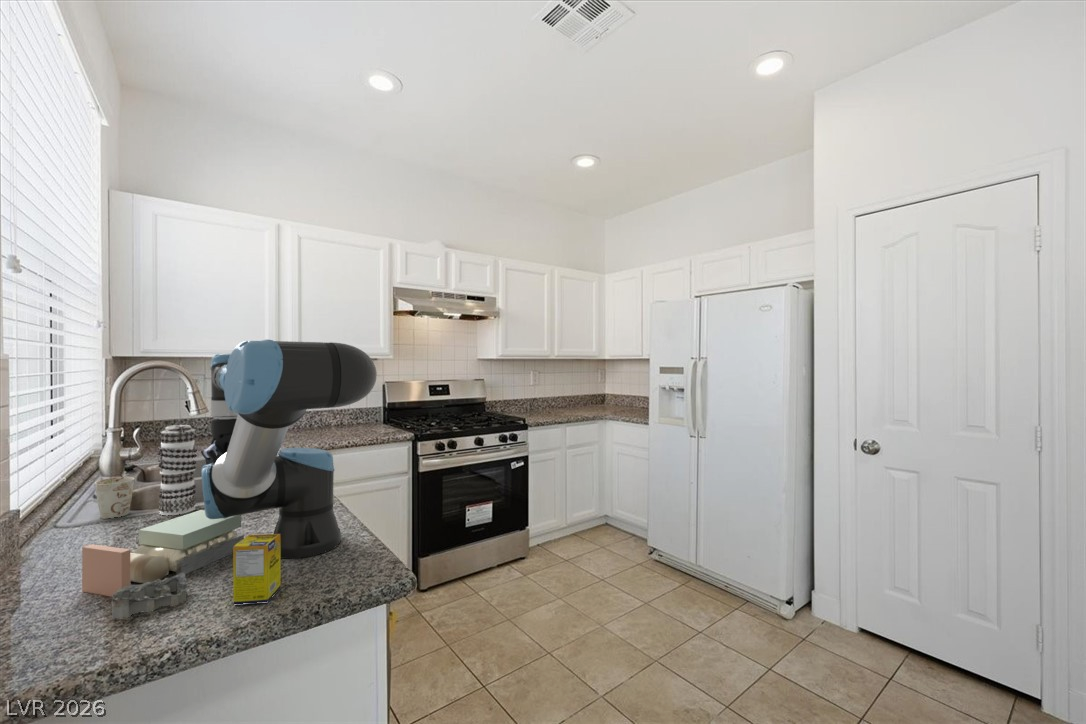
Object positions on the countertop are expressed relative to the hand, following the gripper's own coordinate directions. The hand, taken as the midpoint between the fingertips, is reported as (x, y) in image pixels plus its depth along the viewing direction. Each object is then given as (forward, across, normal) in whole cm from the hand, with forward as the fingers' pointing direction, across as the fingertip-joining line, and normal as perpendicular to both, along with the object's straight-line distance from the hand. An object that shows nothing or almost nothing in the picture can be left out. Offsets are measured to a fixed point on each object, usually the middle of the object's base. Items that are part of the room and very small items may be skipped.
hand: (229, 513), depth 115 cm
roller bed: (+7, -10, 0) cm, 12 cm away
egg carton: (+7, -27, -13) cm, 31 cm away
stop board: (+7, -26, -1) cm, 27 cm away
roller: (+7, -21, -1) cm, 22 cm away
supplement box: (+7, -20, -30) cm, 36 cm away
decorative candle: (+7, +14, +35) cm, 39 cm away
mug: (+7, +7, +50) cm, 51 cm away
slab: (+2, -9, 0) cm, 9 cm away
